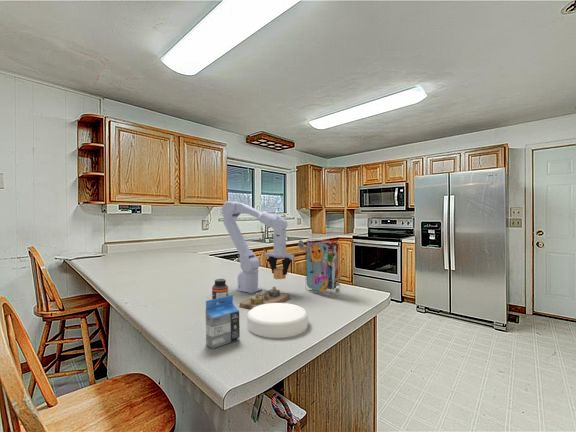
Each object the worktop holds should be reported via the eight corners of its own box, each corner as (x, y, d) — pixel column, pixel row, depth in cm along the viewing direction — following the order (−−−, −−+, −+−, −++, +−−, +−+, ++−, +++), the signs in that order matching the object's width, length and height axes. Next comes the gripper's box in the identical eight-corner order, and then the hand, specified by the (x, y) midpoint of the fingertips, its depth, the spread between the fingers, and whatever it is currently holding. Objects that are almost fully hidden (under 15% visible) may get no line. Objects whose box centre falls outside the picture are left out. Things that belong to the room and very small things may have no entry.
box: (293, 287, 142) (293, 238, 142) (302, 285, 146) (302, 237, 146) (330, 299, 123) (331, 242, 122) (340, 296, 127) (340, 241, 126)
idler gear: (271, 278, 130) (271, 269, 130) (277, 276, 135) (277, 267, 135) (281, 279, 128) (281, 270, 128) (287, 277, 132) (287, 268, 132)
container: (234, 325, 94) (234, 311, 94) (279, 310, 108) (279, 298, 108) (275, 345, 80) (275, 328, 80) (320, 325, 94) (320, 311, 94)
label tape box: (212, 349, 76) (212, 304, 76) (205, 344, 79) (205, 300, 79) (240, 340, 82) (240, 297, 82) (232, 335, 85) (232, 294, 85)
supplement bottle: (211, 307, 111) (211, 278, 111) (226, 305, 113) (226, 277, 113) (212, 312, 105) (213, 282, 105) (229, 310, 107) (229, 280, 107)
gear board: (239, 306, 112) (239, 294, 112) (269, 294, 129) (269, 283, 129) (262, 311, 106) (262, 298, 106) (289, 298, 123) (289, 286, 123)
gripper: (297, 244, 131) (297, 274, 131) (271, 242, 138) (271, 270, 139) (289, 245, 125) (289, 276, 125) (263, 244, 132) (262, 273, 133)
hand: (279, 273), depth 131 cm, fingers closed on idler gear, 5 cm apart
